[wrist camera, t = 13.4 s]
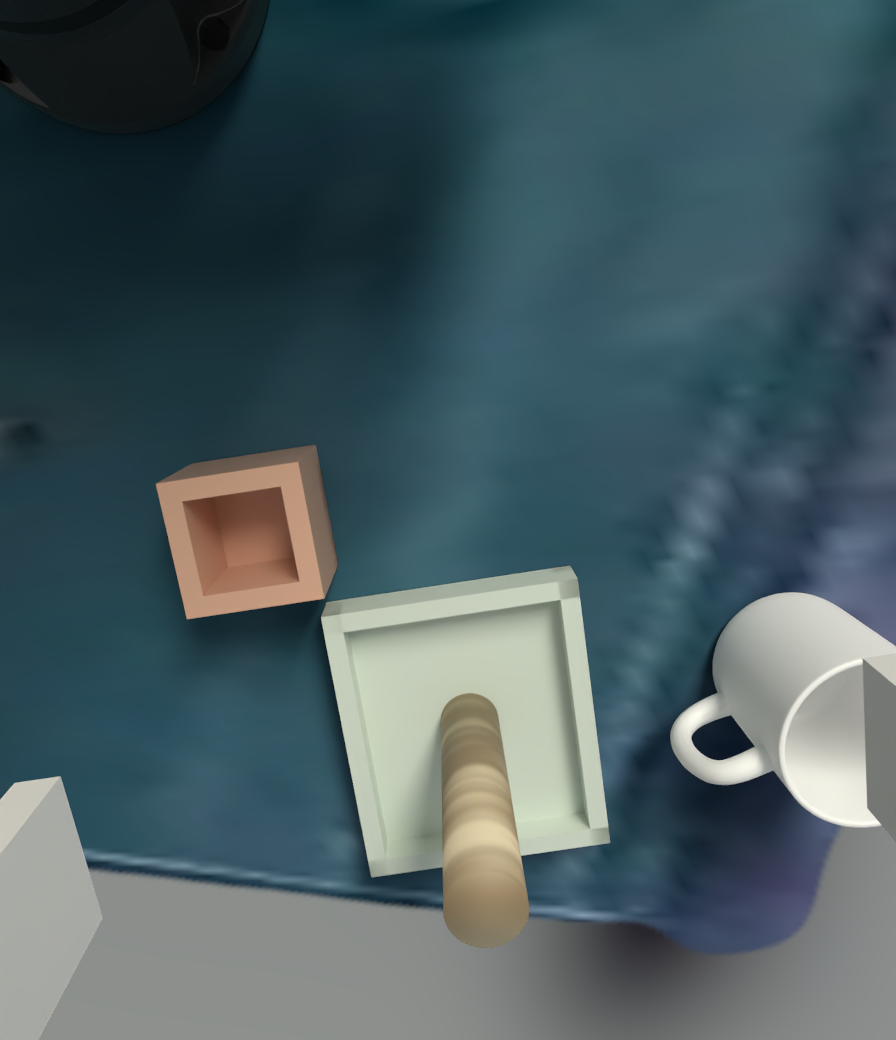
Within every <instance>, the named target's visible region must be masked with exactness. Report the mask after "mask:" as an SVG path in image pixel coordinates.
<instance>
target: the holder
mask: <svg viewBox="0 0 896 1040" xmlns="http://www.w3.org/2000/svg"><path fill="white" fill-rule="evenodd" d="M156 487H157V491H158V496H159V500H160V504H161V509H162V513H163V517H164V522H165V526H166V530H167V535H168V539H169V543H170V548H171V552H172V556H173V561H174V565H175V569H176V574H177V578H178V582H179V587H180V591H181V595H182V600H183V604H184V609H185V613H186V617H187V619H193V618H199V617H206V616H213V615H219V614H226V613H233V612H239V611H246V610H252V609H259V608H266V607H272V606H279V605H286V604H292V603H299V602H305V601H312V600H319V599H324V598H325V596H326V593H327V591H328V589H329V586H330V584H331V581H332V579H333V576H334V574H335V571H336V569H337V566H338V561H337V556H336V550H335V545H334V539H333V534H332V529H331V523H330V518H329V513H328V507H327V502H326V497H325V491H324V486H323V481H322V475H321V470H320V465H319V459H318V454H317V449H316V445H309V446H303V447H296V448H290V449H283V450H277V451H270V452H264V453H257V454H251V455H244V456H238V457H231V458H225V459H218V460H212V461H205V462H199V463H192V464H190V465H188V466H187V467H185V468H183V469H181V470H179V471H178V472H176V473H174V474H172V475H170V476H169V477H167V478H165V479H163V480H161V481H160V482H158V483H156Z"/></svg>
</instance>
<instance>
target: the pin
mask: <svg viewBox="0 0 896 1040" xmlns="http://www.w3.org/2000/svg"><path fill="white" fill-rule="evenodd" d="M441 774H442V846H443V913H444V919H445V922H446V925H447V927H448V929H449V930H450V931H451V933H452V934H453V935H454V936H455V937H456V938H457V939H459V940H460V941H462V942H464V943H466V944H468V945H471V946H475V947H480V948H489V947H490V948H491V947H497V946H500V945H503V944H505V943H507V942H509V941H511V940H512V939H514V938H515V937H516V936H517V935H518V934H519V933H520V932H521V931H522V929H523V928H524V926H525V925H526V922H527V920H528V915H529V903H528V897H527V891H526V885H525V878H524V872H523V866H522V860H521V854H520V848H519V841H518V835H517V829H516V823H515V817H514V811H513V804H512V798H511V792H510V786H509V780H508V774H507V767H506V761H505V755H504V749H503V743H502V737H501V730H500V724H499V718H498V713H497V710H496V708H495V706H494V705H493V703H492V702H491V701H490V700H488V699H487V698H486V697H484V696H482V695H479V694H474V693H465V694H461V695H458V696H456V697H454V698H453V699H451V700H450V701H449V702H448V703H447V704H446V706H445V707H444V709H443V711H442V714H441Z"/></svg>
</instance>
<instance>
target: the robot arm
mask: <svg viewBox="0 0 896 1040" xmlns="http://www.w3.org/2000/svg"><path fill="white" fill-rule="evenodd" d="M268 4H269V0H0V86H2V87H3V88H4V89H6V90H7V91H9V92H10V93H11V94H13V95H14V96H16V97H17V98H19V99H21V100H22V101H24V102H26V103H27V104H29V105H31V106H33V107H34V108H36V109H38V110H40V111H42V112H44V113H45V114H47V115H49V116H51V117H53V118H55V119H57V120H60V121H62V122H64V123H67V124H70V125H73V126H76V127H79V128H83V129H86V130H91V131H96V132H103V133H114V134H130V133H141V132H147V131H152V130H157V129H161V128H164V127H167V126H170V125H173V124H175V123H178V122H180V121H182V120H184V119H186V118H189V117H190V116H192V115H194V114H195V113H197V112H199V111H200V110H202V109H203V108H205V107H206V106H207V105H209V104H210V103H211V102H212V101H214V100H215V99H216V98H217V97H218V96H219V95H220V94H221V93H222V92H224V91H225V90H226V89H227V87H228V86H229V85H230V84H231V83H232V82H233V81H234V79H235V78H236V77H237V75H238V74H239V73H240V71H241V70H242V68H243V67H244V65H245V64H246V62H247V61H248V59H249V57H250V55H251V53H252V51H253V49H254V47H255V45H256V43H257V40H258V38H259V36H260V33H261V30H262V27H263V24H264V21H265V17H266V13H267V9H268ZM862 660H863V692H864V723H865V755H866V786H867V808H868V810H869V811H870V812H871V813H872V814H873V816H874V817H875V818H876V819H877V820H878V821H879V823H880V824H881V825H882V826H883V827H884V828H885V830H886V831H887V832H888V833H889V834H890V835H891V836H892V838H893V839H894V840H895V841H896V653H894V654H887V655H881V656H874V657H867V658H862ZM102 919H103V917H102V914H101V910H100V907H99V904H98V900H97V897H96V894H95V890H94V887H93V883H92V880H91V877H90V873H89V870H88V867H87V863H86V860H85V857H84V853H83V850H82V847H81V843H80V840H79V837H78V833H77V830H76V827H75V823H74V820H73V816H72V813H71V810H70V806H69V803H68V800H67V796H66V793H65V790H64V786H63V783H62V780H61V776H59V777H52V778H45V779H39V780H32V781H25V782H18V783H14V784H13V786H12V787H11V788H10V789H9V790H8V791H7V793H6V794H5V795H4V796H3V797H2V798H1V800H0V1040H39V1038H40V1036H41V1034H42V1032H43V1030H44V1028H45V1027H46V1025H47V1023H48V1021H49V1019H50V1017H51V1015H52V1013H53V1012H54V1009H55V1008H56V1006H57V1004H58V1002H59V1000H60V998H61V996H62V994H63V992H64V991H65V989H66V987H67V985H68V983H69V981H70V979H71V977H72V976H73V974H74V972H75V969H76V968H77V966H78V964H79V962H80V960H81V959H82V957H83V955H84V953H85V951H86V949H87V947H88V945H89V943H90V941H91V940H92V938H93V936H94V934H95V932H96V930H97V928H98V926H99V924H100V922H101V921H102Z"/></svg>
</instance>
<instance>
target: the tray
mask: <svg viewBox="0 0 896 1040" xmlns="http://www.w3.org/2000/svg"><path fill="white" fill-rule="evenodd" d="M321 621H322V626H323V631H324V637H325V642H326V647H327V652H328V657H329V662H330V667H331V673H332V678H333V683H334V688H335V693H336V698H337V703H338V709H339V714H340V719H341V724H342V729H343V734H344V740H345V745H346V750H347V755H348V760H349V765H350V770H351V776H352V781H353V786H354V791H355V796H356V801H357V806H358V812H359V817H360V822H361V827H362V832H363V837H364V842H365V848H366V853H367V858H368V863H369V868H370V873H371V877H378V876H385V875H392V874H399V873H406V872H413V871H419V870H426V869H433V868H440V867H443V846H442V774H441V714H442V711H443V709H444V707H445V706H446V704H447V703H448V702H449V701H450V700H451V699H453V698H454V697H456V696H458V695H461V694H465V693H474V694H479V695H482V696H484V697H486V698H487V699H488V700H490V701H491V702H492V703H493V705H494V706H495V708H496V710H497V713H498V718H499V724H500V730H501V737H502V743H503V749H504V755H505V761H506V767H507V774H508V780H509V786H510V792H511V798H512V804H513V811H514V817H515V823H516V829H517V835H518V841H519V848H520V854H521V856H523V855H530V854H537V853H544V852H551V851H557V850H564V849H571V848H578V847H585V846H592V845H599V844H606V843H610V837H609V829H608V821H607V813H606V805H605V797H604V789H603V781H602V773H601V765H600V756H599V748H598V740H597V732H596V724H595V716H594V708H593V700H592V692H591V684H590V676H589V668H588V660H587V651H586V643H585V635H584V627H583V619H582V611H581V603H580V595H579V587H578V579H577V577H576V575H575V573H574V572H573V570H572V568H571V567H570V566H564V567H557V568H551V569H544V570H537V571H531V572H524V573H518V574H511V575H504V576H498V577H491V578H484V579H478V580H471V581H464V582H458V583H451V584H445V585H438V586H431V587H425V588H418V589H411V590H405V591H398V592H391V593H385V594H378V595H372V596H365V597H358V598H352V599H345V600H338V601H332V602H327V603H326V605H325V608H324V610H323V613H322V615H321Z"/></svg>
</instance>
